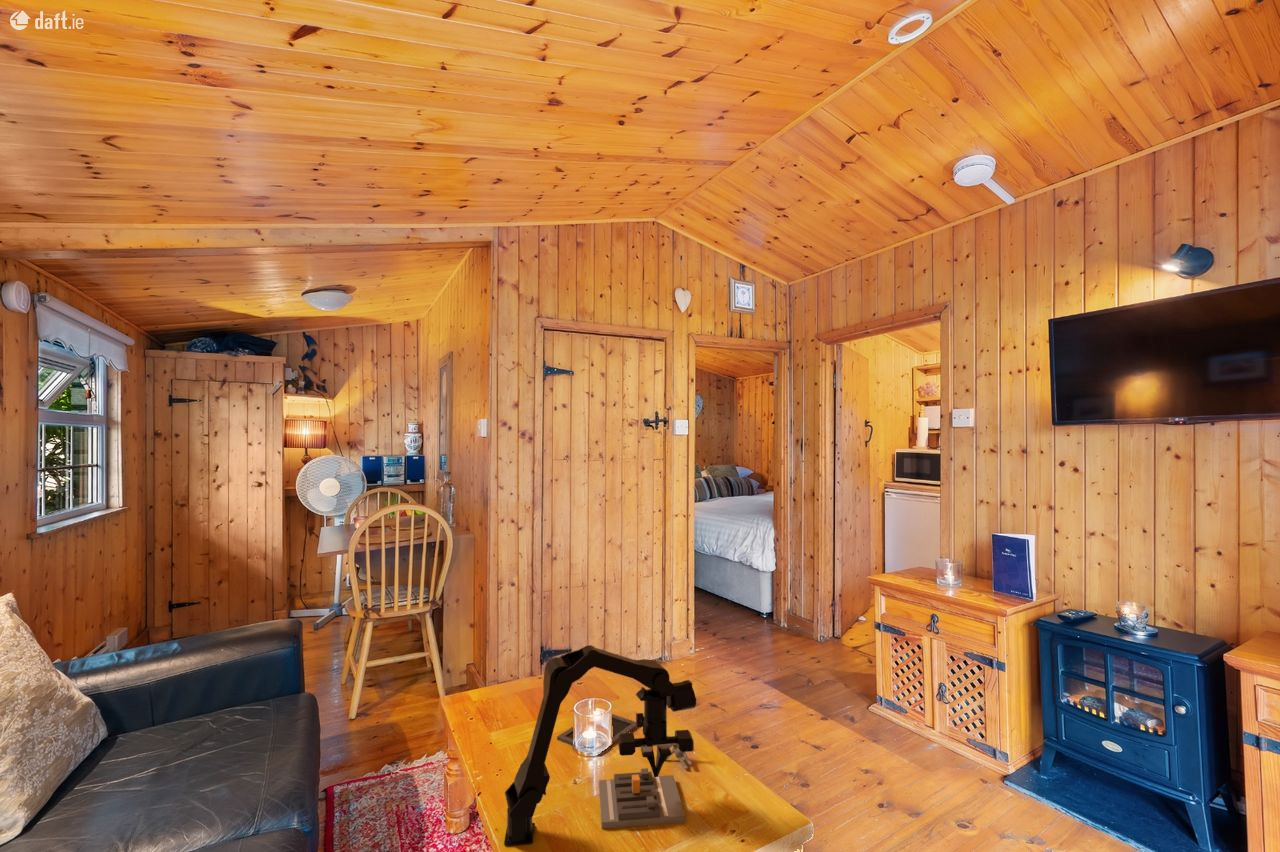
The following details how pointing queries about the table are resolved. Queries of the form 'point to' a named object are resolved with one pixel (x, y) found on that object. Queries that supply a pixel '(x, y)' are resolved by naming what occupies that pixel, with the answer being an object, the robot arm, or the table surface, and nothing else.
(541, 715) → the robot arm
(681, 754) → the grey toy figurine
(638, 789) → the handle
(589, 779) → the table surface
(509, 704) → the table surface
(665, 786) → the panel
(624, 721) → the picture frame
